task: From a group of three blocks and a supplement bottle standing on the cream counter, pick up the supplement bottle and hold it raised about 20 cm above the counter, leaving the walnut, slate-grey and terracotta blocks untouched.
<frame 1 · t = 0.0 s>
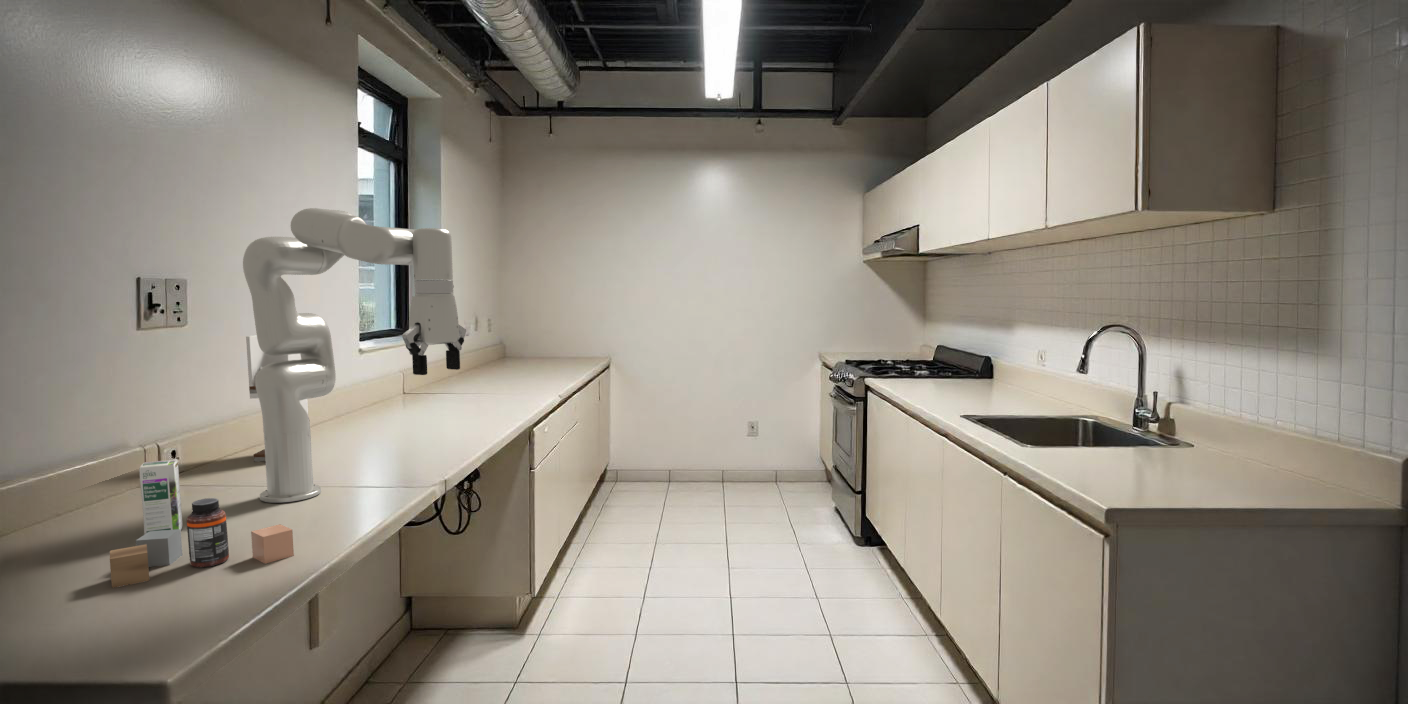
hand: (437, 371, 158), 31 cm above the counter, tool pointing down, fingers open, 9 cm apart
slate grey block: (160, 561, 137), on the counter
syrup box: (164, 534, 152), on the counter
terracotta block: (273, 557, 139), on the counter
walnut block: (130, 580, 129), on the counter
display case: (283, 456, 218), on the counter
supplement bottle: (210, 563, 136), on the counter
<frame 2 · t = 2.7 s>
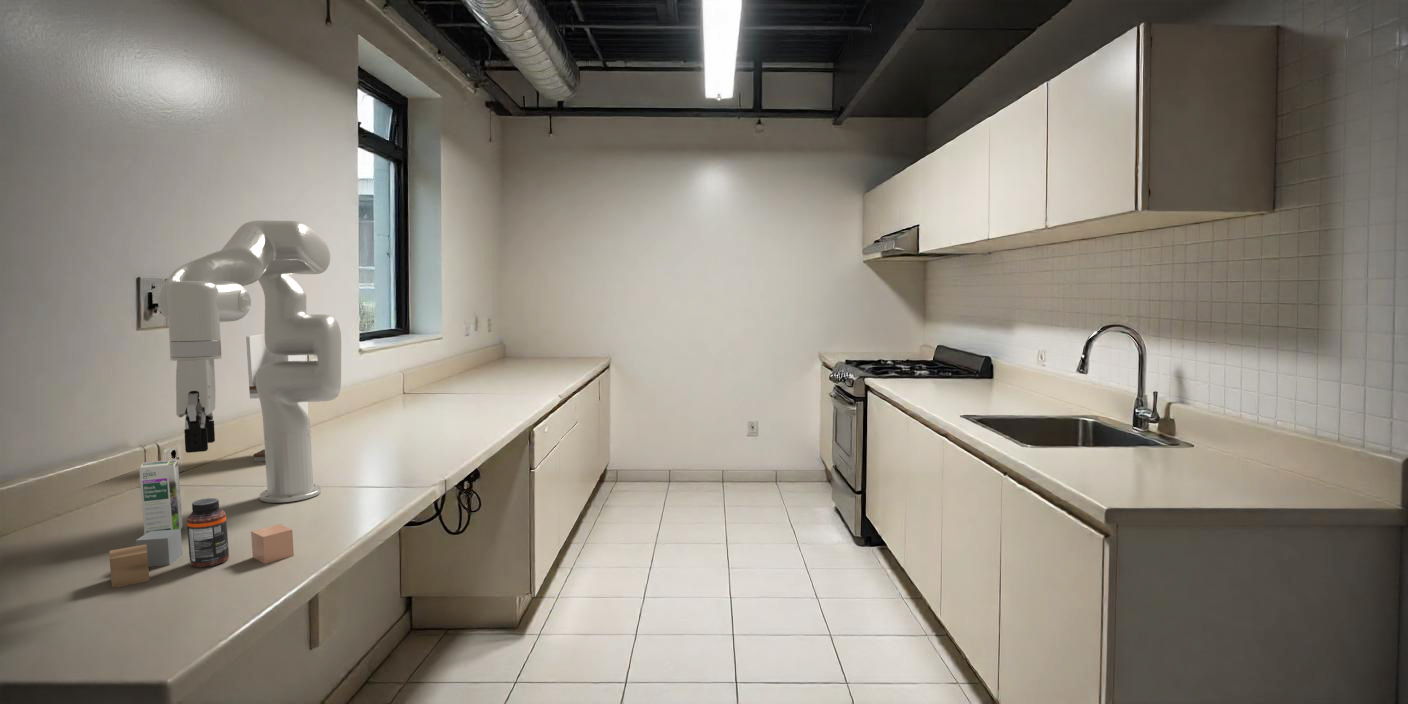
hand: (200, 447, 135), 21 cm above the counter, tool pointing down, fingers open, 9 cm apart
nothing on the counter moved.
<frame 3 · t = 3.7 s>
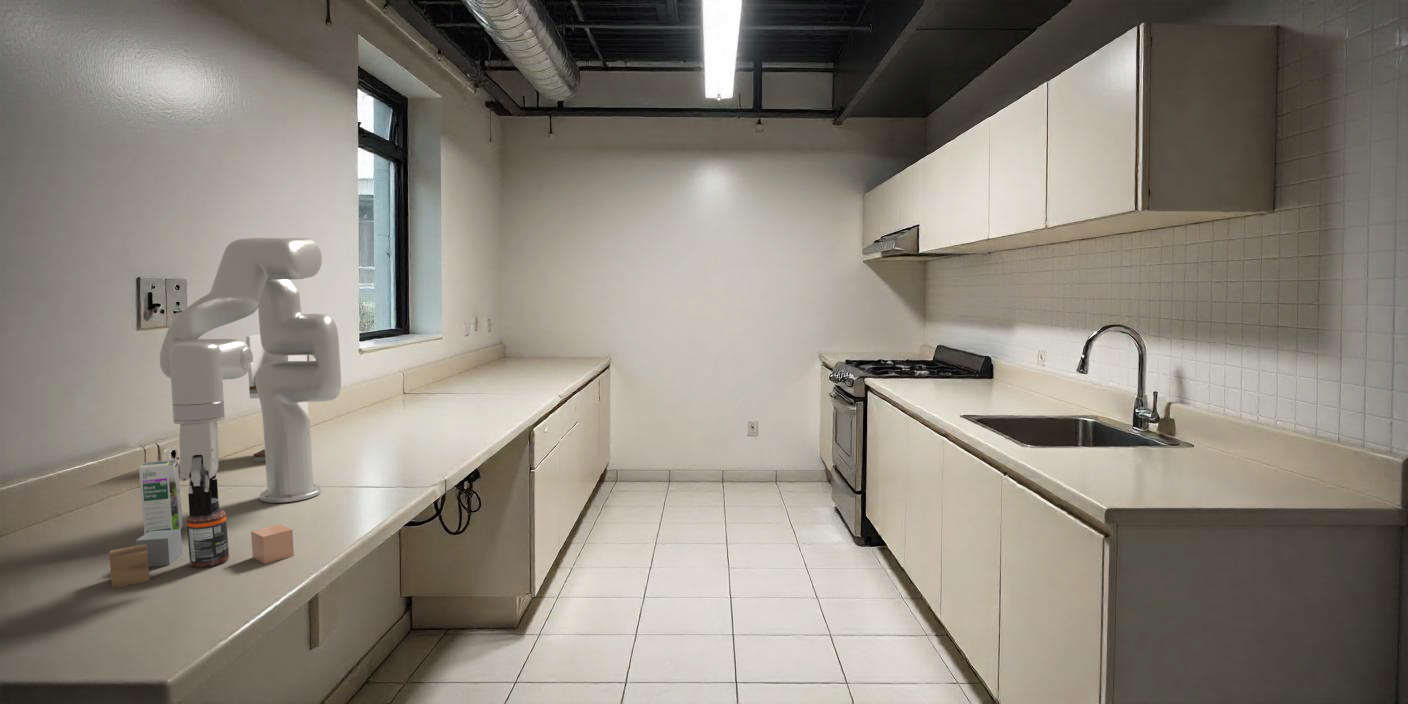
hand: (204, 508, 135), 10 cm above the counter, tool pointing down, fingers open, 9 cm apart
nothing on the counter moved.
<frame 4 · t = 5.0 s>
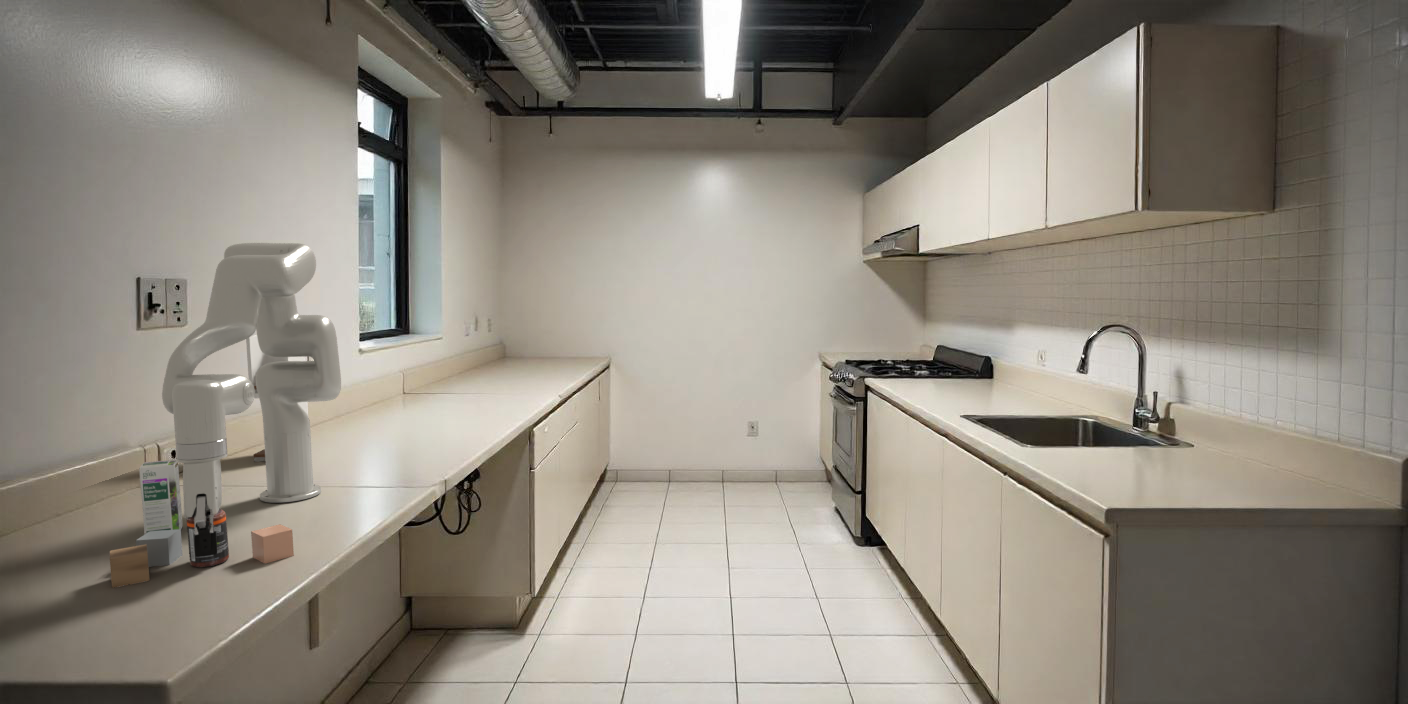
hand: (208, 548, 136), 3 cm above the counter, tool pointing down, fingers closed on supplement bottle, 6 cm apart
supplement bottle: (209, 563, 136), on the counter, touching gripper
everything else where it was.
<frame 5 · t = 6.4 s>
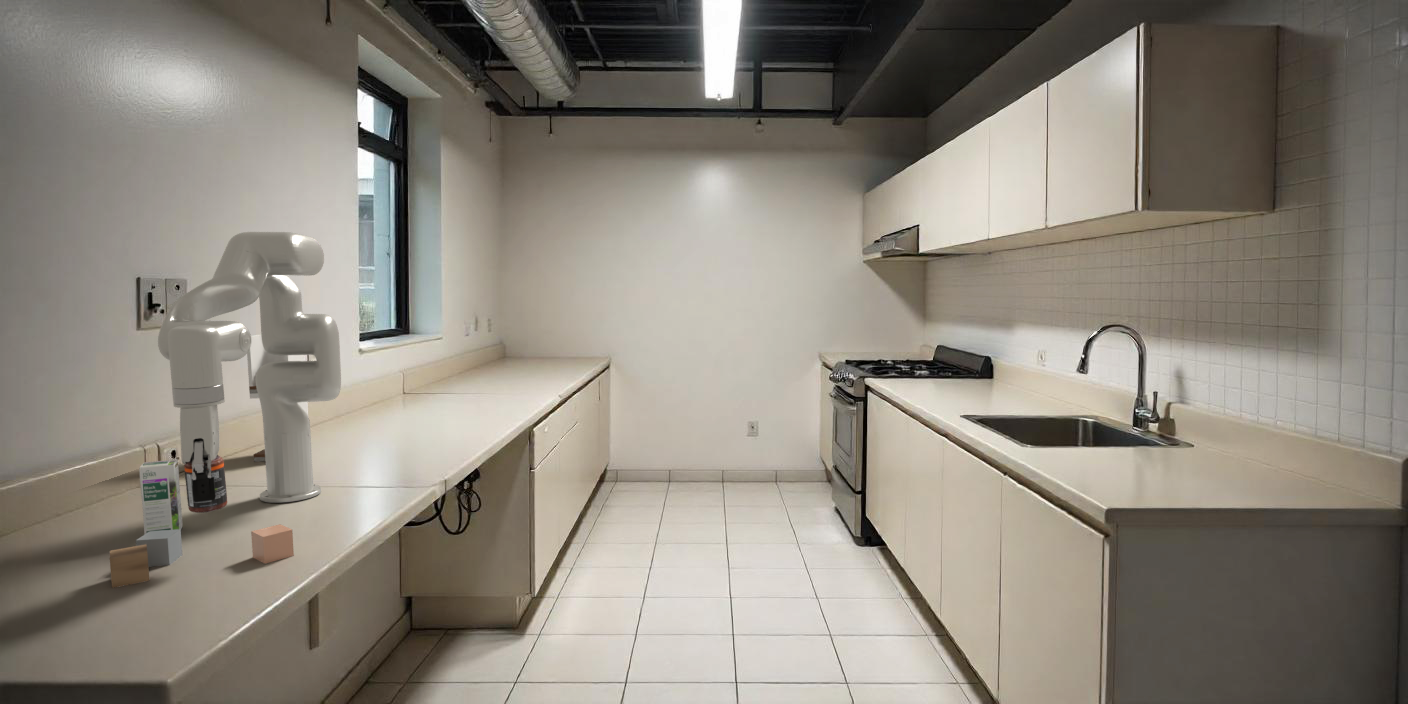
hand: (207, 494, 136), 12 cm above the counter, tool pointing down, fingers closed on supplement bottle, 6 cm apart
supplement bottle: (208, 509, 136), point 9 cm above the counter, touching gripper
everything else where it was.
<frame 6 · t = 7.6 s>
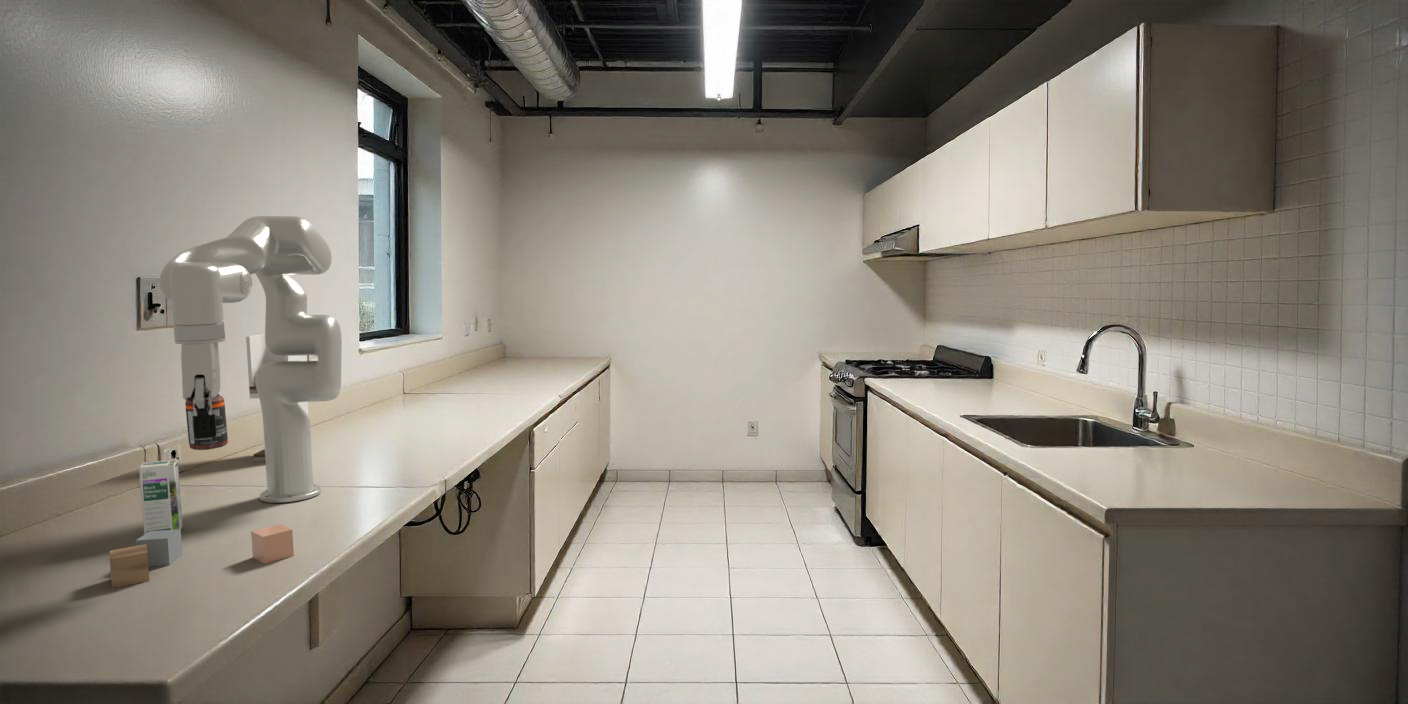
hand: (207, 432, 137), 23 cm above the counter, tool pointing down, fingers closed on supplement bottle, 6 cm apart
supplement bottle: (209, 447, 137), point 20 cm above the counter, touching gripper
everything else where it was.
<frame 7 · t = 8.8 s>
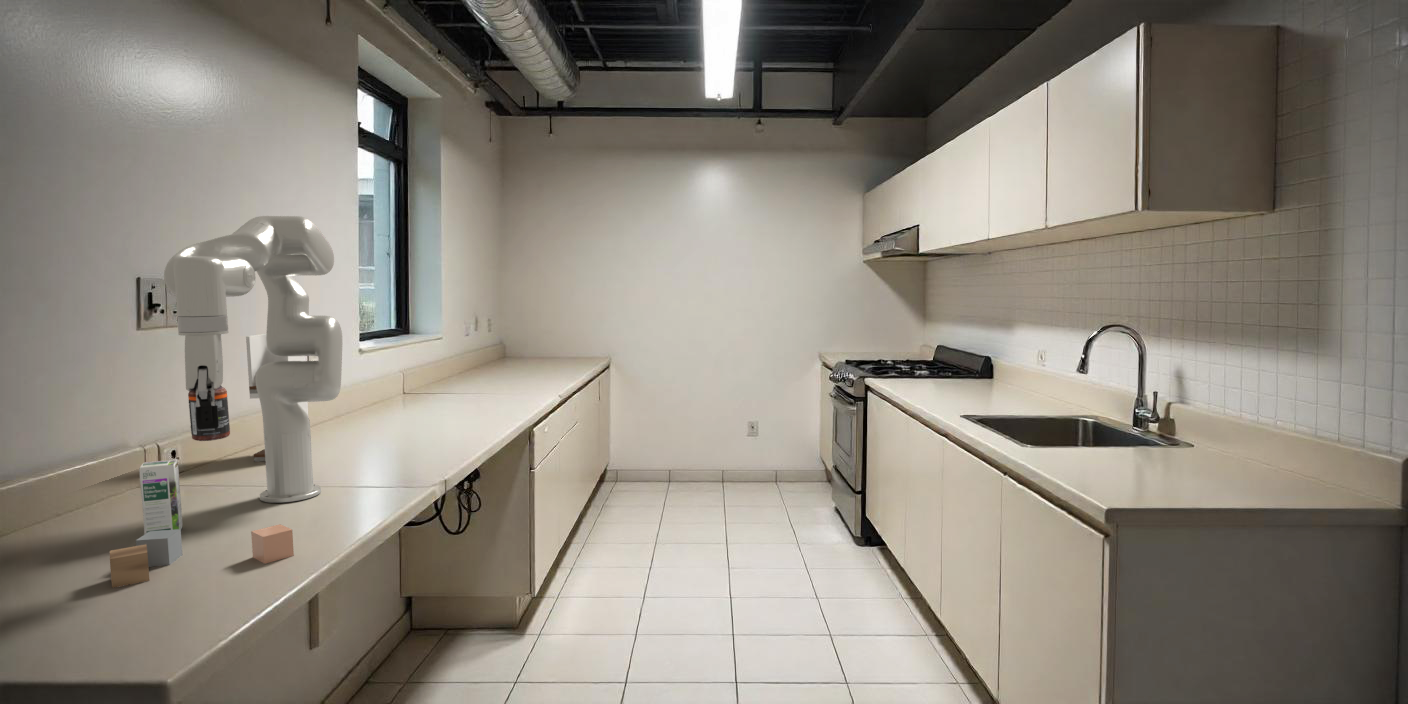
hand: (210, 424, 138), 24 cm above the counter, tool pointing down, fingers closed on supplement bottle, 6 cm apart
supplement bottle: (211, 439, 138), point 22 cm above the counter, touching gripper
everything else where it was.
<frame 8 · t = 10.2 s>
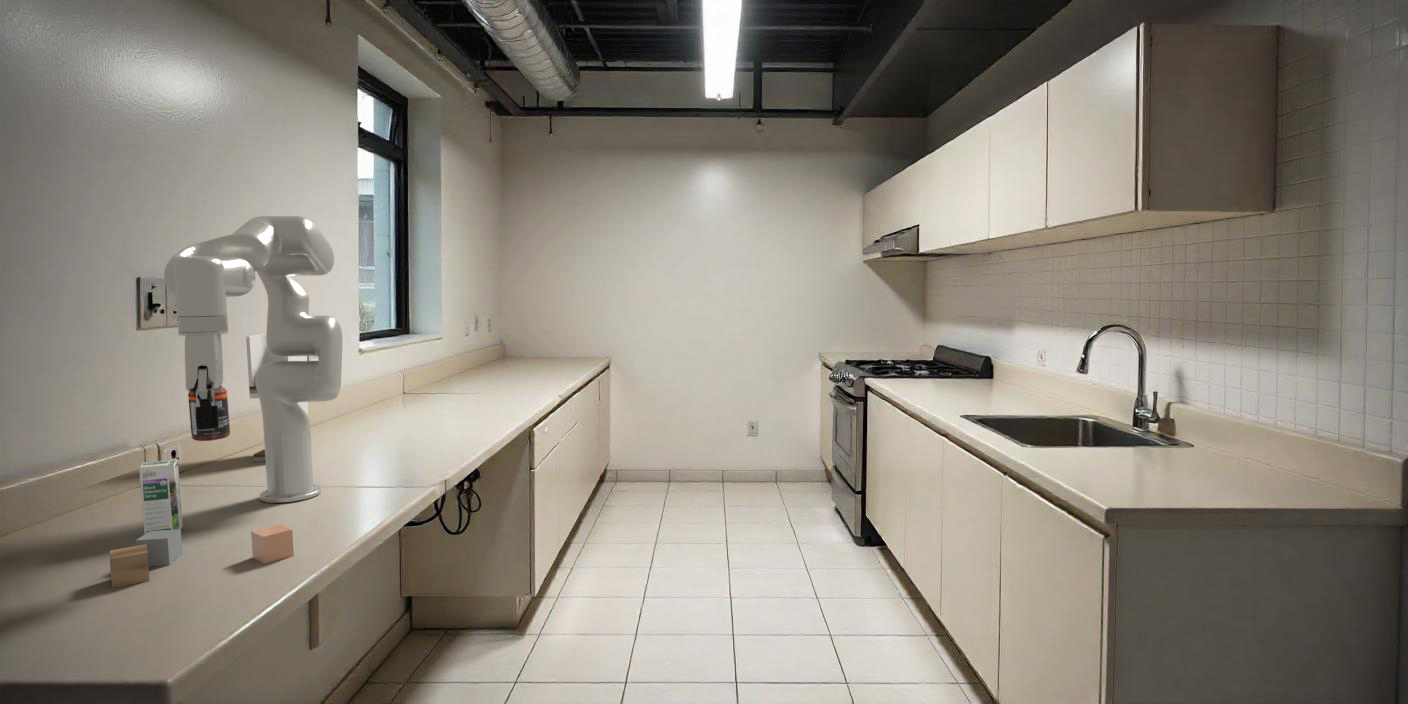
hand: (210, 424, 138), 24 cm above the counter, tool pointing down, fingers closed on supplement bottle, 6 cm apart
supplement bottle: (211, 439, 138), point 22 cm above the counter, touching gripper
everything else where it was.
at the end: the gripper is holding supplement bottle; supplement bottle point 21.5 cm above the counter; slate grey block moved 0.1 cm from its start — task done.
